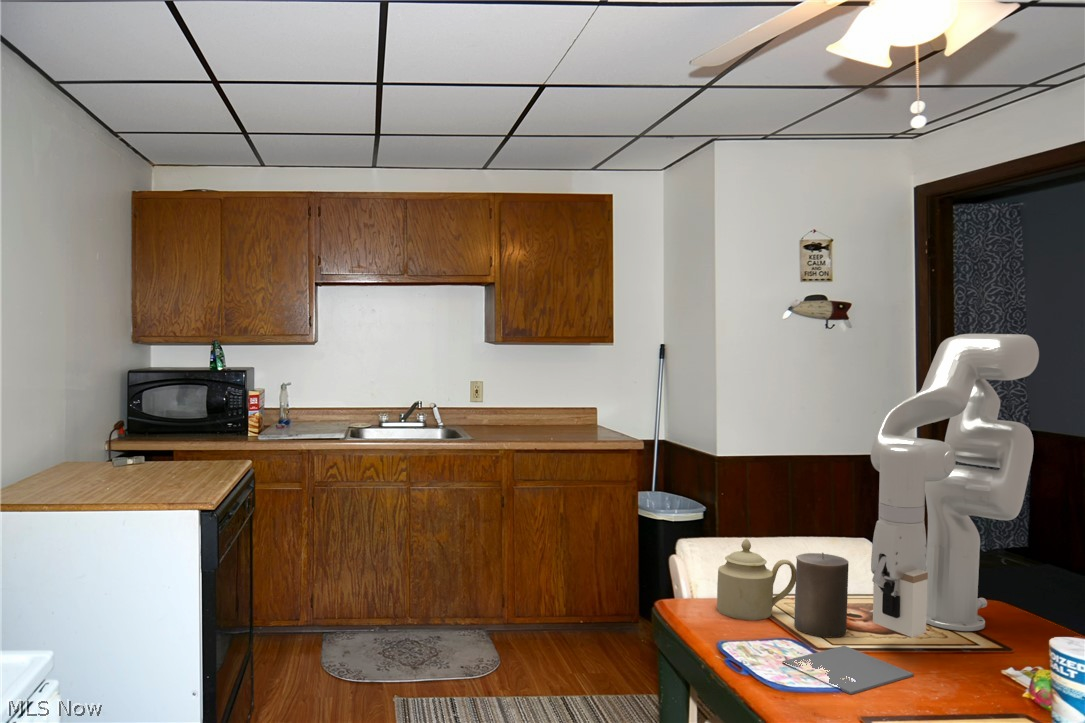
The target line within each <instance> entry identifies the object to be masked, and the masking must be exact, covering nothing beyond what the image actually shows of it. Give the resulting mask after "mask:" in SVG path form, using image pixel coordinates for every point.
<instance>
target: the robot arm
mask: <svg viewBox="0 0 1085 723" xmlns="http://www.w3.org/2000/svg"><path fill="white" fill-rule="evenodd" d="M1039 358H1040V350H1039V347H1038V344H1037V341H1036V340H1035V339H1034V338H1033V337H1032V336H1030V335H1028V334H1019V333H1018V334H1014V333H1013V334H1012V333H1007V334H1006V333H963V334H958V335H955V336H950V337H947V338H945V339H944V340H943V341H942V342H941V343H940V344H939V346H938V348H937V350H936V353H935V355H934V357H933V360H932V362H931V364H930V367H929V370H928V372H927V374H926V377H925V379H924V382H923V385H922V387H921V389H920V391H918V392H917V393H914V394H913V395H911V396H910V397H907V398H906V399H904V400H903V401H901V402H900V403H899V404H897V405H896V406H894V407H893V408H892V409H890V411H888V413H886V414H885V416H884V417H883V419H882V421H881V423H880V424H879V426H878V428H877V429H878V430H877V432H876V435H875V436H874V440H873V441H872V445H871V449H870V450H871V451H870V461H871V464H872V467H873V468H874V469H875V470H876V471H877V472H879V482H878V483H879V485H878V486H879V490H878V520H877V521H876V522H875V527H874V532H873V538H872V549H871V556H870V557H871V558H870V571H871V573H872V574H873V576H872V579H871V580H872V582H873V584H874V583H875V584H877V585H878V586H879V588H880V591H881V592H882V593H883V599H882V612H883V614H886V615H888V616H891V617H894V618H899V617H900V596H898V589H899V582H900V579H901V578H903V574H904V573H906V572H910V571H913V570H917V569H919V570H923V571H926V572H928V579H927V613H926V625H930V626H933V627H937V628H941V629H945V630H951V631H960V632H977V631H980V630H983V629H984V628H985V627H986V620H985V618H984V617H982V615H979V614H978V611H979V609H982V608H986V607H987V606H988V601H987V599H986V598H984V597H979V598H978V596H979V595H978V594H979V587H978V586H979V569H980V549H981V536H980V533H979V530H978V529H977V527H976V525H975V523H974V522H973V520H972V519H971V516H974V517H978V518H979V517H980V518H985V519H986V518H987V519H990V520H998V521H1012V520H1014V519H1015V518H1017V517H1018V516H1019V514H1020V512H1021V510H1022V507H1023V505H1024V504H1023V503H1024V499H1025V494H1026V490H1027V485H1028V480H1029V477H1030V471H1031V466H1032V462H1033V455H1034V448H1035V447H1034V437H1033V436H1034V435H1033V434H1032V431H1031V429H1030V428H1029V427H1028V426H1027V425H1026V424H1024V423H1023V422H1018V421H1012V420H1003V419H998V417H999V412H1000V409H1001V398H1000V397H999V395H998V393H997V392H996V390H995V389H994V388H993V386H992V385H991V384H990V383H989V382H988V381H987V380H989V381H992V380H993V381H1015V380H1018V379H1022V378H1026V377H1028V376H1030V375H1031V374H1032V373H1033V372H1034V371H1035V370H1036V368H1037V366H1038V363H1039V360H1040V359H1039ZM947 419H948V420H949V421H948V424H947V428H946V432H945V437H944V441H942V440H939V439H929V438H920V437H913V436H905V435H906V434H907V433H909V432H910V431H912V430H914V429H917V428H918V427H922V426H924V425H929V424H932V423H937V422H940V421H944V420H947ZM957 462H958V463H963V464H967V465H961V464H957ZM968 465H969V466H968ZM970 465H975V466H970ZM977 466H983V467H989V468H983V467H977ZM990 467H992V468H998V470H997V469H991V468H990ZM925 501H926V502H925ZM925 506H926V507H925ZM925 508H926V509H927V510H926V511H925ZM925 512H927V533H926V525H925ZM888 573H890V576H889V575H888ZM888 580H890V581H893V583H892V586H891V585H890V583H888Z"/></svg>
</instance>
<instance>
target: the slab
mask: <svg viewBox="0 0 1085 723" xmlns="http://www.w3.org/2000/svg"><path fill="white" fill-rule="evenodd" d="M888 575H889V576H890V573H888ZM927 579H928V572H926V571H923V570H919V569H917V570H913V571H910V572H906V573H904V574H903V578H901V579H900V582H899V589H898V596H900V617H899V618H894V617H891V616H888V615H886V614H883V612H882V599H883V593H882V592H881V591H880V588H879V586H878V585H877V584H875V583H874V582H873V588H872V590H873V593H872V594H873V598H872V599H873V600H872V623H873V624H875V625H878V626H880V627H884V628H885V629H889V630H891V631H894V632H896V633H899V634H902V635H904V636H908V637H909V638H914V637H918V636H920V635H923V634H926V633H927V623H926V613H927ZM888 583H890V585H891V586H892V583H893V581H890V580H888Z"/></svg>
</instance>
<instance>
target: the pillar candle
mask: <svg viewBox="0 0 1085 723" xmlns="http://www.w3.org/2000/svg"><path fill="white" fill-rule="evenodd" d="M795 558H796V565H795V568H796V582H795V589H794V592H795V593H794V618H793V619H794V621H793V622H794V628H795V629H796V630H798V631H800V632H802V633H804V634H808V635H812V636H814V635H815V637H821V638H836V637H843V636H845V635H846V633H847V626H848V624H847V622H848V598H849V597H848V595H849V594H848V592H849V591H848V588H849V587H848V586H849V585H848V584H849V560H848V559H846V558H844V557H841V556H838V555H834V554H829V553H824V552H821V553H819V552H815V553H814V552H808V553H807V552H806V553H800V554H798V555H796V556H795Z"/></svg>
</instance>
